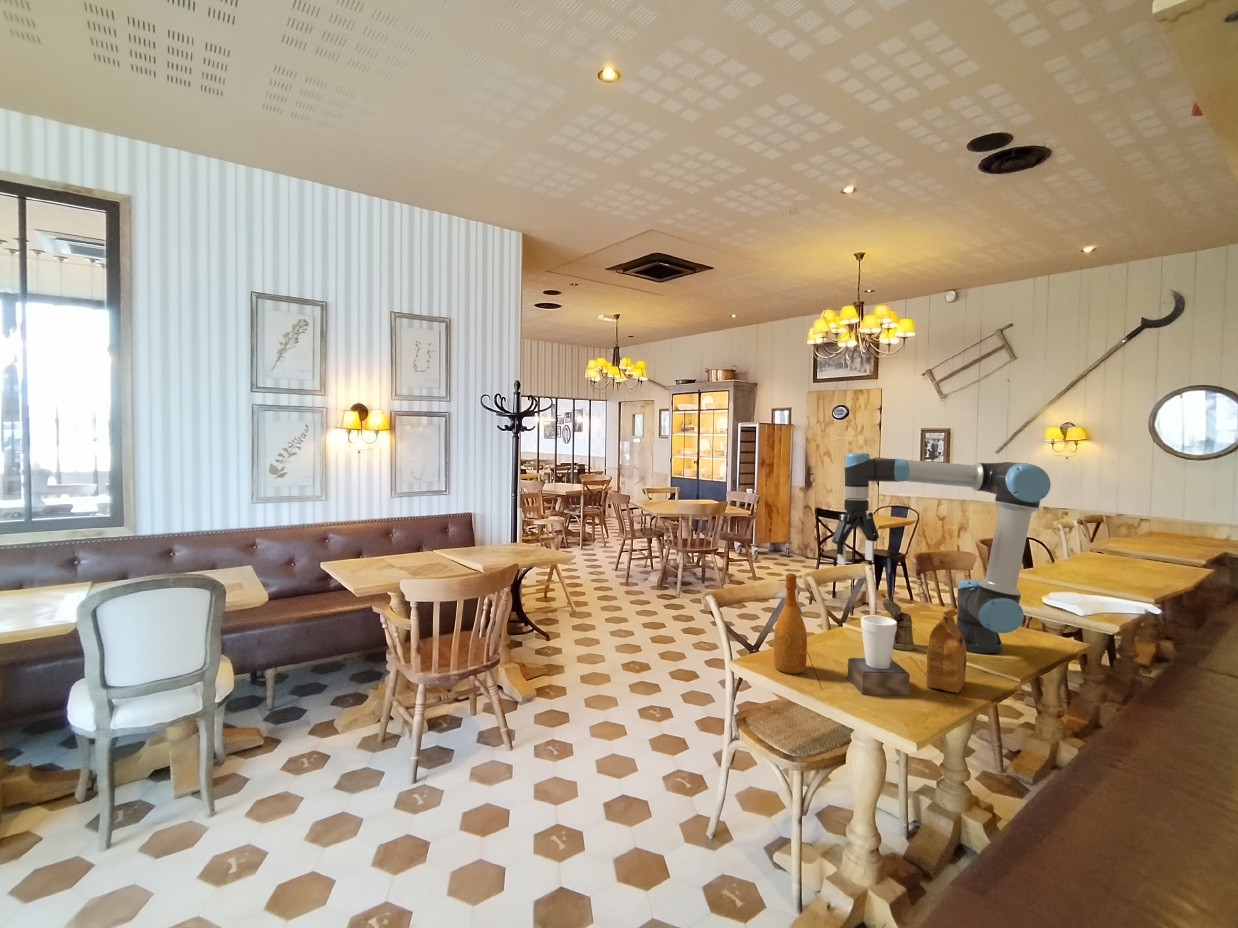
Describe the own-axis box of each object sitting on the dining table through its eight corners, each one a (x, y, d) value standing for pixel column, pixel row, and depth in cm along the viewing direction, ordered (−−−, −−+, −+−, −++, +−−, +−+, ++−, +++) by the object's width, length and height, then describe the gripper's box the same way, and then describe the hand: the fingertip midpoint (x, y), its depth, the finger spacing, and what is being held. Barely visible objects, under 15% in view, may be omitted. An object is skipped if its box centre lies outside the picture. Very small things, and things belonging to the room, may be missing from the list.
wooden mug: (873, 647, 198) (874, 596, 197) (894, 639, 206) (895, 590, 205) (899, 655, 191) (900, 602, 190) (919, 647, 199) (920, 595, 198)
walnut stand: (891, 678, 172) (892, 657, 172) (909, 695, 161) (909, 672, 161) (847, 678, 173) (848, 657, 172) (862, 694, 162) (862, 671, 161)
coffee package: (971, 684, 168) (973, 610, 167) (959, 697, 160) (961, 619, 159) (934, 674, 175) (936, 603, 174) (920, 687, 167) (922, 611, 166)
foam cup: (900, 664, 167) (901, 620, 166) (889, 673, 160) (890, 627, 160) (866, 655, 173) (867, 613, 173) (855, 664, 167) (855, 620, 166)
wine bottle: (801, 677, 173) (803, 578, 171) (769, 670, 178) (770, 574, 177) (809, 667, 181) (811, 572, 180) (778, 660, 186) (780, 568, 185)
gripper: (871, 496, 202) (870, 556, 203) (821, 499, 190) (820, 563, 191) (890, 498, 195) (889, 560, 196) (839, 502, 183) (839, 568, 184)
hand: (855, 562), depth 193 cm, fingers open, 13 cm apart
